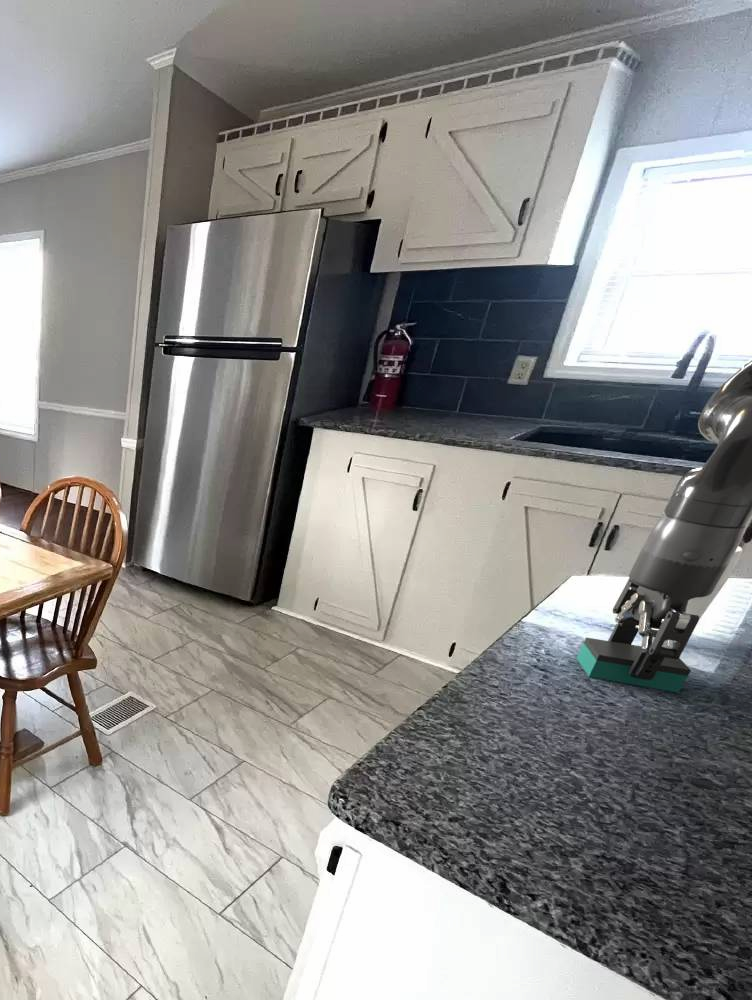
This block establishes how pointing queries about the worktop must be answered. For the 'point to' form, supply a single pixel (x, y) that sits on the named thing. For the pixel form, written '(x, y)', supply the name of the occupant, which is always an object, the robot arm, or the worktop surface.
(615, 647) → the sponge
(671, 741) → the worktop surface
